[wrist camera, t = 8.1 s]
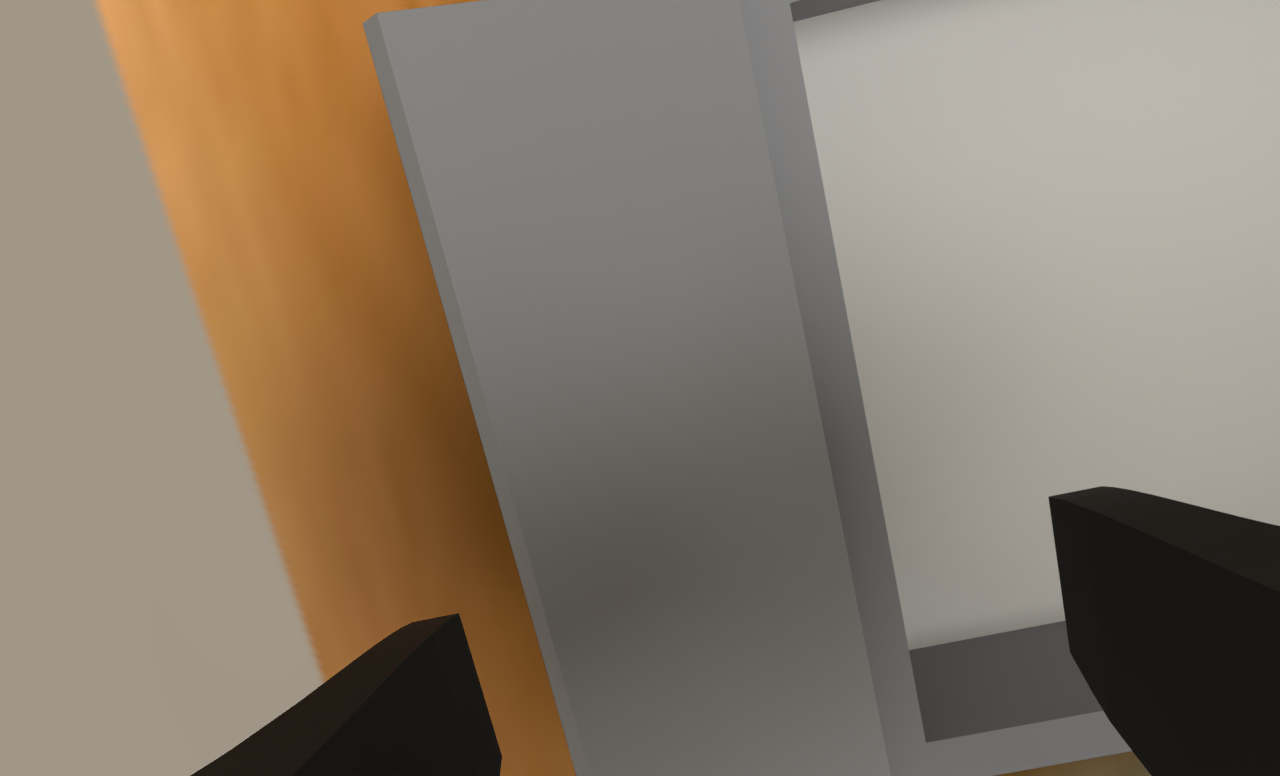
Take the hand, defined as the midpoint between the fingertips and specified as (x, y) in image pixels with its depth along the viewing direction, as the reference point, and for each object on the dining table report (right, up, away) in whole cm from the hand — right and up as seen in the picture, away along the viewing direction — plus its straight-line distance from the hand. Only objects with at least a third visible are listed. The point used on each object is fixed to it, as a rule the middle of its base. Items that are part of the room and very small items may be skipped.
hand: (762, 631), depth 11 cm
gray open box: (+9, +5, +9) cm, 13 cm away
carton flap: (-1, +1, +4) cm, 4 cm away
